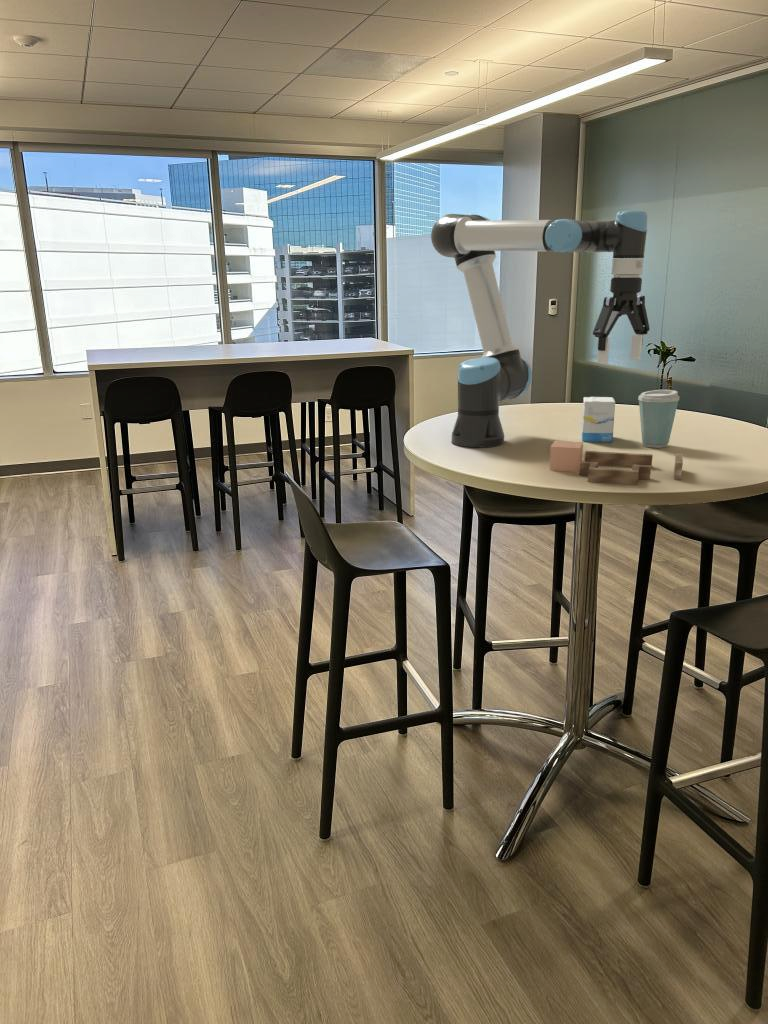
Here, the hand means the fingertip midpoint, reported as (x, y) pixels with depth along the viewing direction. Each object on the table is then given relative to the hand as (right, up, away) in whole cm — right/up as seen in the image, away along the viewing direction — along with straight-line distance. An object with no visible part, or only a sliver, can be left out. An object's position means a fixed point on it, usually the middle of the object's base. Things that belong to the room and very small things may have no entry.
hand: (619, 361), depth 196 cm
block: (-16, -28, -10) cm, 34 cm away
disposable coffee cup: (+13, -21, +11) cm, 27 cm away
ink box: (0, -18, +21) cm, 28 cm away
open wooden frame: (-3, -30, -17) cm, 35 cm away
